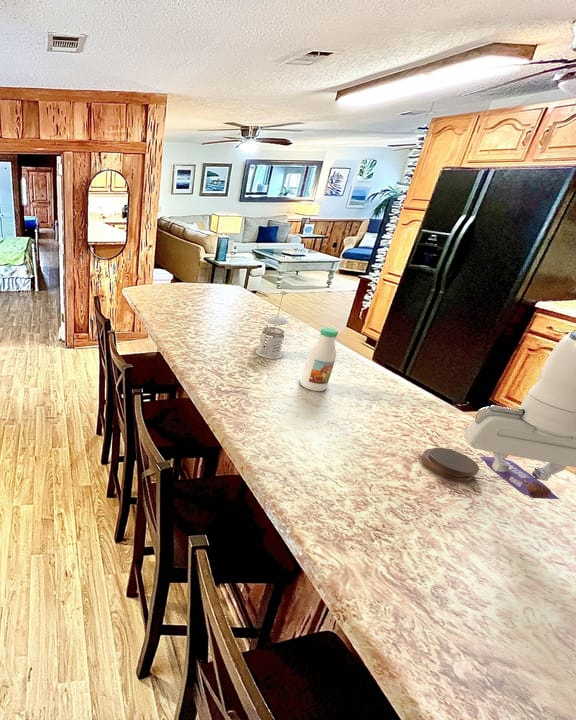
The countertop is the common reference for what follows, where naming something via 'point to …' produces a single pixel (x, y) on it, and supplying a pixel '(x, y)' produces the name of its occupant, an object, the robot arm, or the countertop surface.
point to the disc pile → (450, 464)
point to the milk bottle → (320, 361)
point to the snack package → (522, 480)
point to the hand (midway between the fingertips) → (518, 473)
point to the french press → (273, 342)
